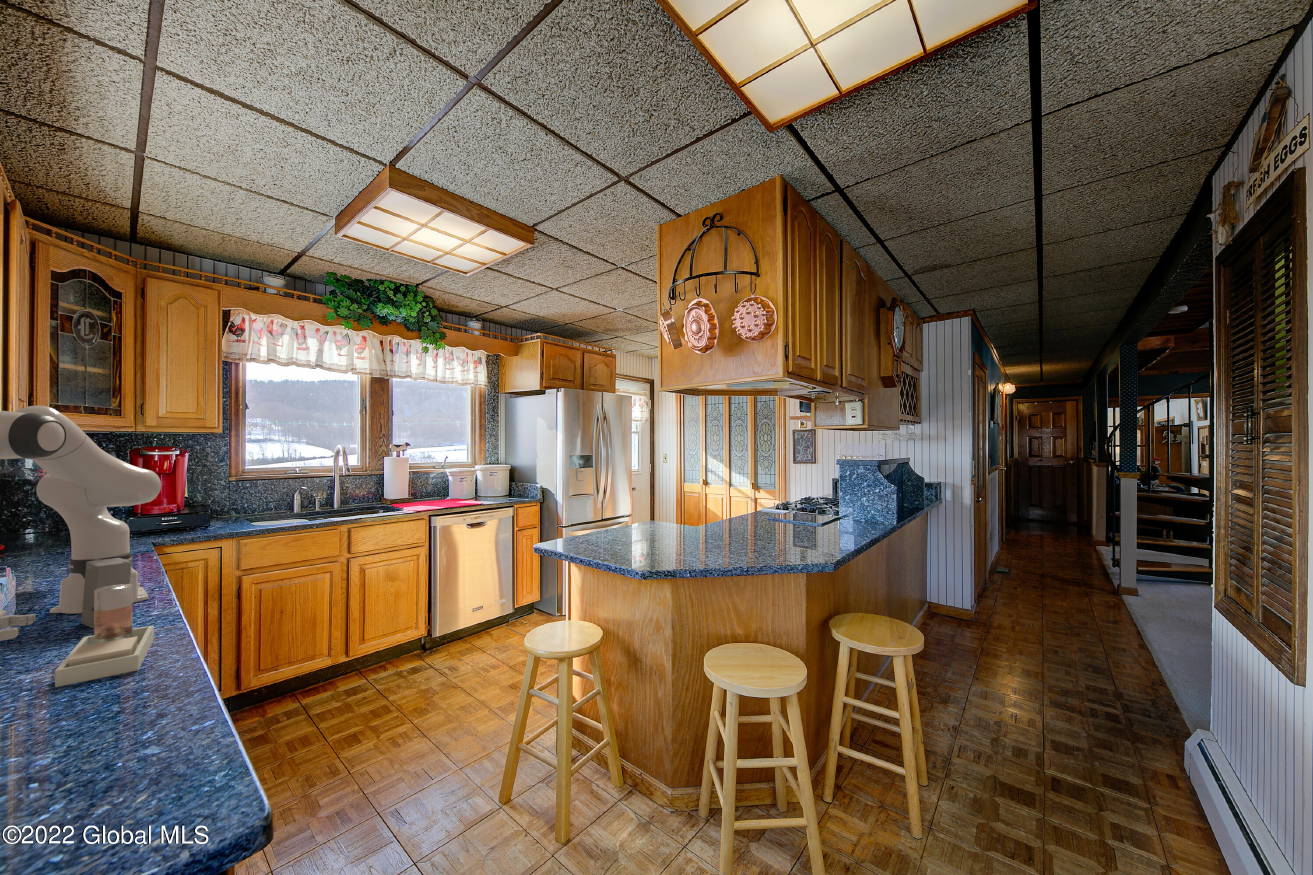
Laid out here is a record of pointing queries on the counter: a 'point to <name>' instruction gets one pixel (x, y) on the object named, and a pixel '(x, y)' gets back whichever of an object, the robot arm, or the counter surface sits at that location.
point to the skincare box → (102, 582)
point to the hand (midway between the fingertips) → (26, 625)
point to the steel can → (113, 613)
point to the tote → (105, 661)
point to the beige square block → (103, 651)
